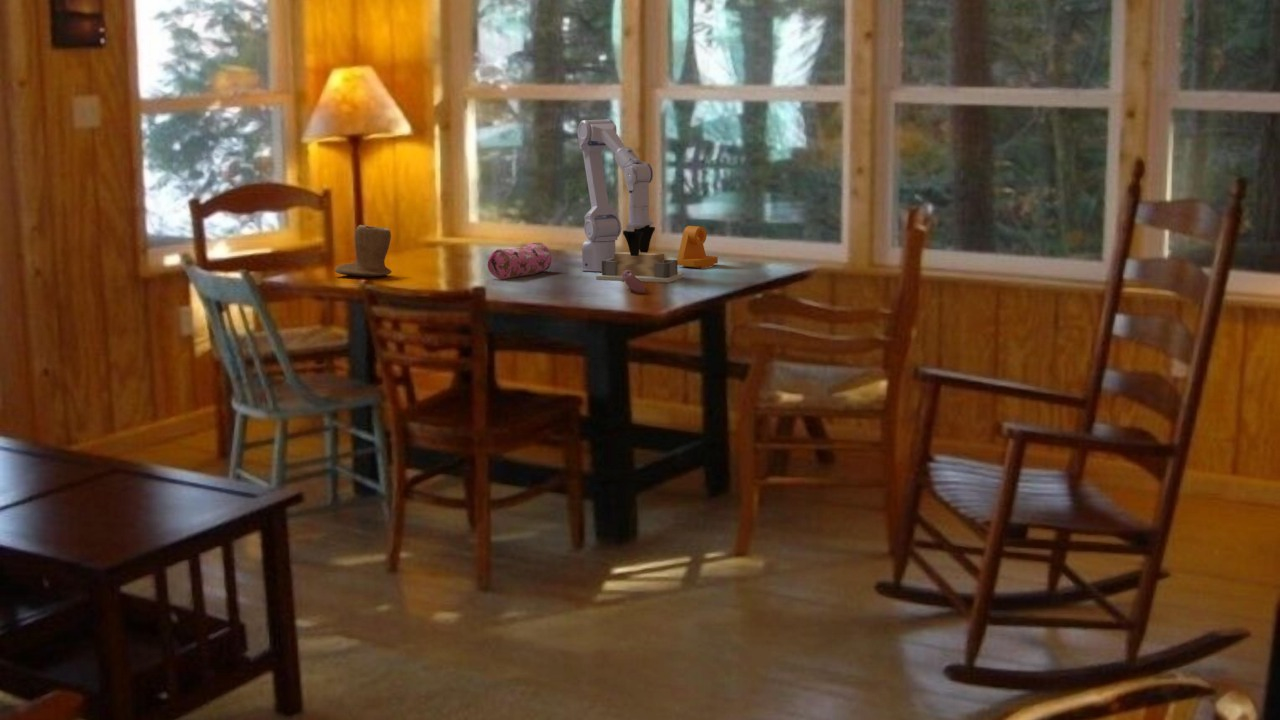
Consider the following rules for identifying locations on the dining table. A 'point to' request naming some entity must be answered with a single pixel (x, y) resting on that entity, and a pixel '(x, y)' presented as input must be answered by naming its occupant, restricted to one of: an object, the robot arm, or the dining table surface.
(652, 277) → the cradle
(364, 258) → the top hat
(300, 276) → the dining table surface
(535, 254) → the pencil case
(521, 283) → the dining table surface
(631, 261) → the wooden block
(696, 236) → the bracket
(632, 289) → the pink rounded piece
